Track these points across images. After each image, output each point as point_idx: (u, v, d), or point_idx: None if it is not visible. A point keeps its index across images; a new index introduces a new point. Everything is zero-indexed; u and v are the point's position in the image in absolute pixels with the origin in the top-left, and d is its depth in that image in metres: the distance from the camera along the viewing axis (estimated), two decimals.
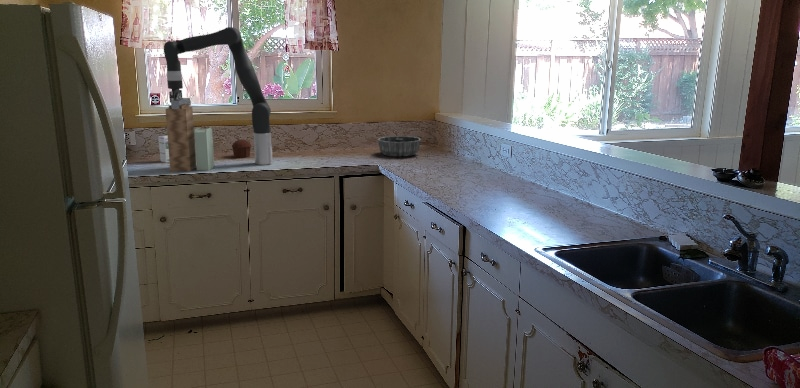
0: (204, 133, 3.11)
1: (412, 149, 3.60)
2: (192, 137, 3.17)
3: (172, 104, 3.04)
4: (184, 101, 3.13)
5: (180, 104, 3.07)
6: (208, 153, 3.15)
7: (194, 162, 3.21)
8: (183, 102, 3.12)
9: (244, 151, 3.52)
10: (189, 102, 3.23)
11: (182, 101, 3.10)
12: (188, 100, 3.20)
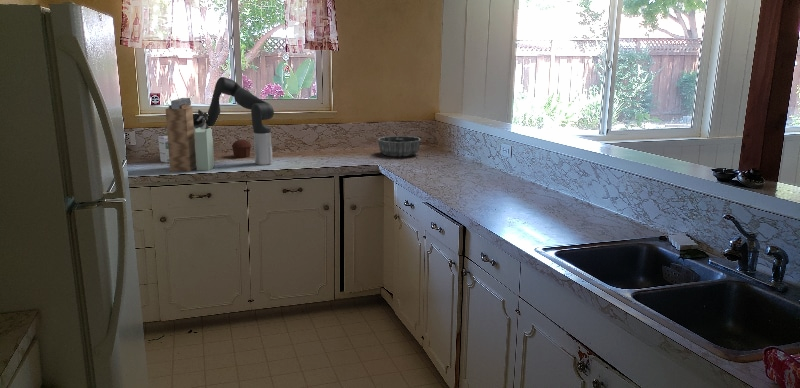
0: (204, 133, 3.11)
1: (412, 149, 3.60)
2: (192, 137, 3.17)
3: (172, 104, 3.04)
4: (184, 101, 3.13)
5: (180, 104, 3.07)
6: (208, 153, 3.15)
7: (194, 162, 3.21)
8: (183, 102, 3.12)
9: (244, 151, 3.52)
10: (189, 102, 3.23)
11: (182, 101, 3.10)
12: (188, 100, 3.20)
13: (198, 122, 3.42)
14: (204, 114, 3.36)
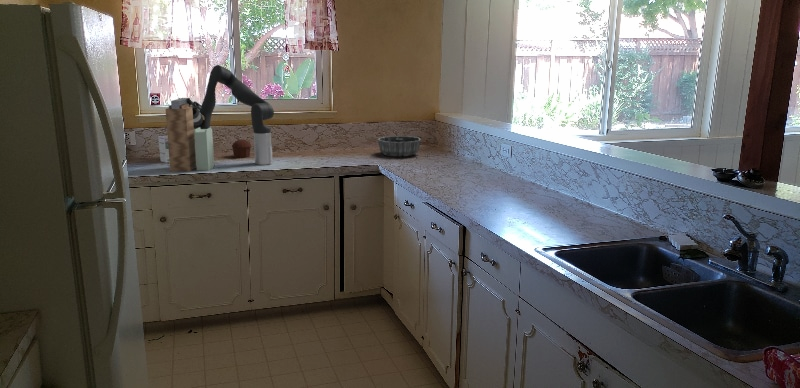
0: (204, 133, 3.11)
1: (412, 149, 3.60)
2: (192, 137, 3.17)
3: (172, 104, 3.04)
4: (184, 101, 3.13)
5: (180, 104, 3.07)
6: (208, 153, 3.15)
7: (194, 162, 3.21)
8: (183, 102, 3.12)
9: (244, 151, 3.52)
10: None
11: (182, 101, 3.10)
12: None
13: None
14: (193, 103, 3.23)
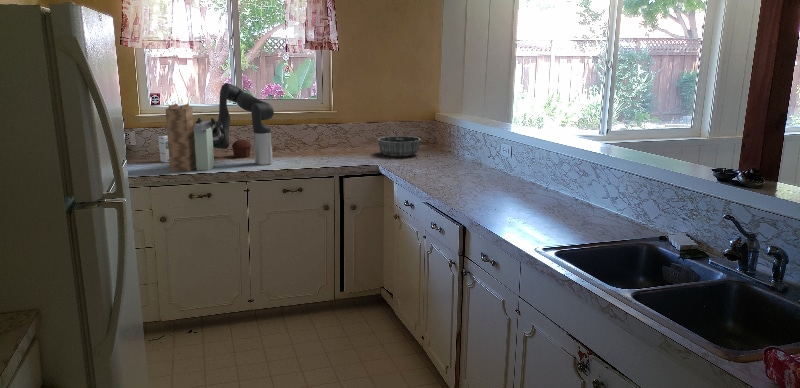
0: (204, 133, 3.11)
1: (412, 149, 3.60)
2: (192, 137, 3.17)
3: (195, 128, 3.06)
4: (206, 125, 3.15)
5: (203, 128, 3.09)
6: (208, 153, 3.15)
7: (194, 162, 3.21)
8: (205, 126, 3.14)
9: (244, 151, 3.52)
10: (211, 125, 3.25)
11: (205, 125, 3.12)
12: (210, 123, 3.22)
13: (213, 131, 3.31)
14: (217, 122, 3.25)
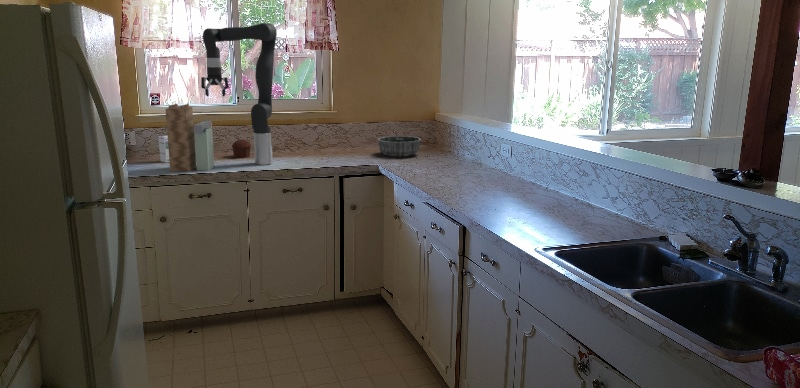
0: (204, 133, 3.11)
1: (412, 149, 3.60)
2: (192, 137, 3.17)
3: (195, 128, 3.06)
4: (206, 125, 3.15)
5: (203, 128, 3.09)
6: (208, 153, 3.15)
7: (194, 162, 3.21)
8: (205, 126, 3.14)
9: (244, 151, 3.52)
10: (211, 125, 3.25)
11: (205, 125, 3.12)
12: (210, 123, 3.22)
13: None
14: (226, 88, 3.33)
